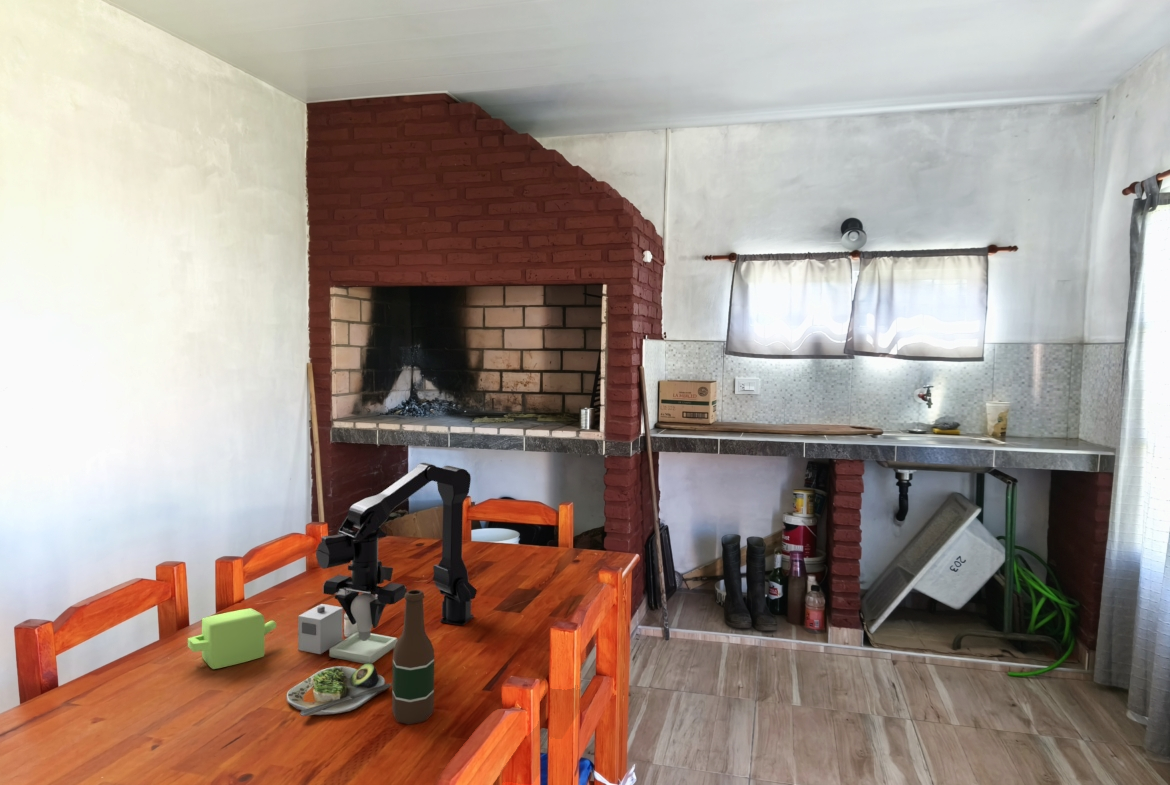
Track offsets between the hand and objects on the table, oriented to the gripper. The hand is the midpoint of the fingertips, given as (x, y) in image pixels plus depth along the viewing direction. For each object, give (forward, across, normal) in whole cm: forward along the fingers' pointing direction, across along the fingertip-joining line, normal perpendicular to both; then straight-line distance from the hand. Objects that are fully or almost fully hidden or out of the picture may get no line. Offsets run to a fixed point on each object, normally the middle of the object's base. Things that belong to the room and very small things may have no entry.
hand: (364, 625), depth 161 cm
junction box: (+6, +11, +1) cm, 13 cm away
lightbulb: (+4, 0, 0) cm, 4 cm away
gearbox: (+6, +25, +12) cm, 28 cm away
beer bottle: (+6, -25, +20) cm, 33 cm away
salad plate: (+6, -7, +18) cm, 20 cm away
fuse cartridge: (+6, +8, -7) cm, 12 cm away
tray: (+6, 0, 0) cm, 6 cm away
